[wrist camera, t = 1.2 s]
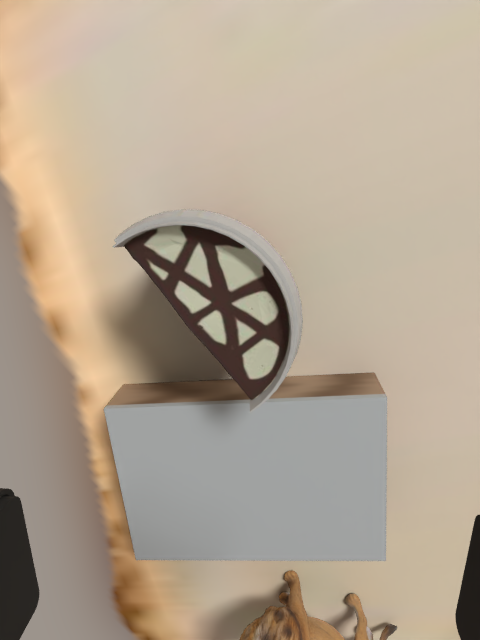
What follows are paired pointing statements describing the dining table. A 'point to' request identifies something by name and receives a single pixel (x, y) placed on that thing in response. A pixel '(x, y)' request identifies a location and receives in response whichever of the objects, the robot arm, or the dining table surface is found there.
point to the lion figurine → (304, 620)
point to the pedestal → (253, 469)
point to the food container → (224, 292)
